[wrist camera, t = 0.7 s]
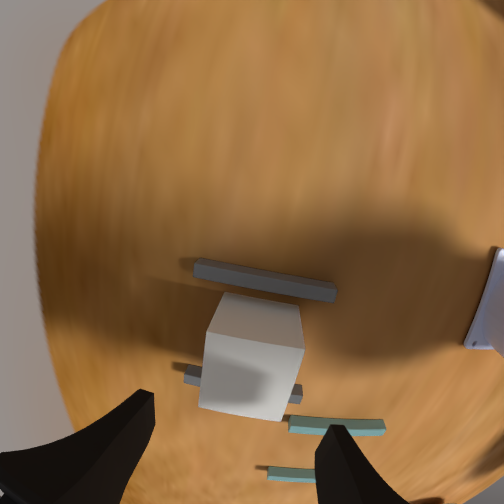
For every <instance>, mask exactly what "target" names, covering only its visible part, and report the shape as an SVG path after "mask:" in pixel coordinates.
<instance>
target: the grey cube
mask: <svg viewBox="0 0 504 504" xmlns="http://www.w3.org/2000/svg"><path fill="white" fill-rule="evenodd" d="M304 353H305V343H304V337H303V330H302V324H301V318H300V312H299V306H298V305H294V304H288V303H282V302H277V301H271V300H266V299H260V298H255V297H250V296H245V295H239V294H234V293H229V292H224V294H223V296H222V298H221V301H220V303H219V305H218V307H217V309H216V312H215V314H214V316H213V318H212V320H211V323H210V325H209V327H208V329H207V332H206V340H205V348H204V357H203V366H202V375H201V385H200V395H199V405H198V407H201V408H205V409H210V410H214V411H219V412H224V413H229V414H234V415H239V416H245V417H251V418H257V419H264V420H271V421H279V422H281V420H282V417H283V414H284V411H285V409H286V406H287V403H288V400H289V397H290V395H291V392H292V389H293V386H294V383H295V380H296V377H297V374H298V371H299V368H300V365H301V362H302V359H303V356H304Z"/></svg>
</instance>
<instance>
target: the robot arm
mask: <svg viewBox="0 0 504 504" xmlns="http://www.w3.org/2000/svg"><path fill="white" fill-rule="evenodd" d="M473 342H474V343H473ZM464 347H465V348H467V349H495V350H496V351H497V352H498V353H499V354H500V355H501V356H503V357H504V249H503V248H498V249H497V251H496V253H495V257H494V260H493V264H492V268H491V271H490V274H489V278H488V281H487V284H486V287H485V290H484V293H483V296H482V299H481V301H480V304H479V307H478V310H477V312H476V315H475V317H474V320H473V322H472V325H471V327H470V330H469V332H468V334H467V336H466V339H465V341H464ZM154 426H155V408H154V393H152V392H149V391H146V390H143V389H139V390H137V391H136V392H135V393H134V394H132V395H131V396H130V397H129V398H127V399H126V400H125V401H124V402H122V403H121V404H120V405H119V406H117V407H116V408H115V409H113V410H112V411H110V412H109V413H108V414H106V415H105V416H103V417H102V418H100V419H99V420H97V421H95V422H94V423H92V424H91V425H89V426H87V427H86V428H84V429H82V430H80V431H78V432H76V433H74V434H72V435H70V436H67V437H65V438H63V439H60V440H57V441H55V442H52V443H49V444H46V445H42V446H38V447H34V448H30V449H25V450H19V451H11V452H1V453H0V489H1V490H2V492H4V494H3V496H2V497H1V496H0V504H120V501H121V498H122V495H123V493H124V490H125V487H126V485H127V483H128V481H129V479H130V477H131V475H132V473H133V471H134V469H135V468H136V466H137V464H138V462H139V460H140V458H141V456H142V454H143V453H144V451H145V449H146V447H147V445H148V443H149V440H150V438H151V435H152V432H153V429H154ZM315 480H316V488H317V496H318V504H409V503H408V502H407V501H406V500H404V499H403V498H402V497H401V496H399V495H398V494H397V493H396V492H395V491H394V490H393V489H392V488H391V487H390V486H389V485H388V484H387V483H386V482H385V481H384V480H383V479H382V478H381V476H380V475H379V474H378V473H377V472H376V470H375V469H374V468H373V467H372V465H371V464H370V463H369V461H368V460H367V458H366V457H365V456H364V454H363V453H362V451H361V450H360V448H359V447H358V445H357V444H356V442H355V441H354V439H353V438H352V436H351V435H350V433H349V432H348V430H347V429H346V427H345V426H344V425H338V424H330V426H329V427H328V429H327V431H326V433H325V435H324V437H323V439H322V440H321V442H320V444H319V446H318V448H317V449H316V451H315Z"/></svg>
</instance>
